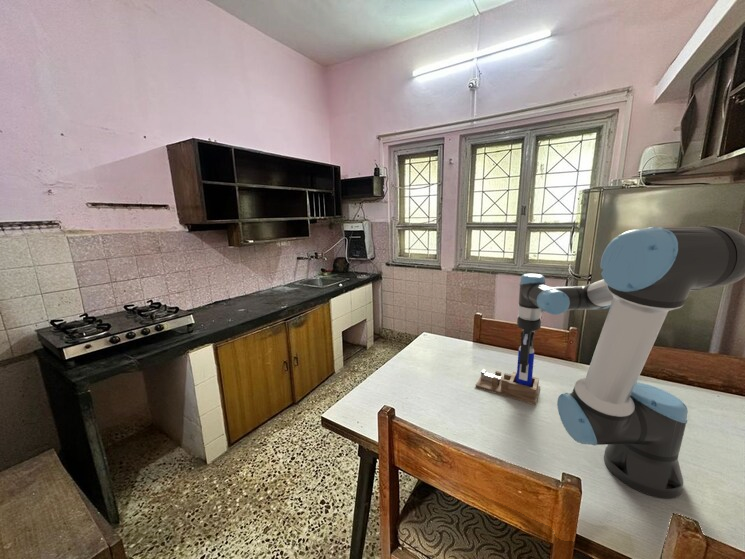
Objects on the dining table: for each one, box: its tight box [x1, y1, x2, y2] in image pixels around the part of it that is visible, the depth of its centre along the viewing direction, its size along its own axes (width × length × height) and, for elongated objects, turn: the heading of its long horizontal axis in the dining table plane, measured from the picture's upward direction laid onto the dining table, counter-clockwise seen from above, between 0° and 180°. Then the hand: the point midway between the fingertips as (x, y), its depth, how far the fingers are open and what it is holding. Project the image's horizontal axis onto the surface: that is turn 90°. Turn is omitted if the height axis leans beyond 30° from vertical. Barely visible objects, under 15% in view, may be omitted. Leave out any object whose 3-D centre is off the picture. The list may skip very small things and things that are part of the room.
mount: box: [475, 370, 541, 406], centre depth 115 cm, size 12×21×5 cm, turn 55°
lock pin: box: [480, 368, 502, 384], centre depth 118 cm, size 3×7×3 cm, turn 55°
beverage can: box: [516, 345, 535, 387], centre depth 110 cm, size 5×5×15 cm
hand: (524, 375), depth 110 cm, fingers closed on beverage can, 5 cm apart
